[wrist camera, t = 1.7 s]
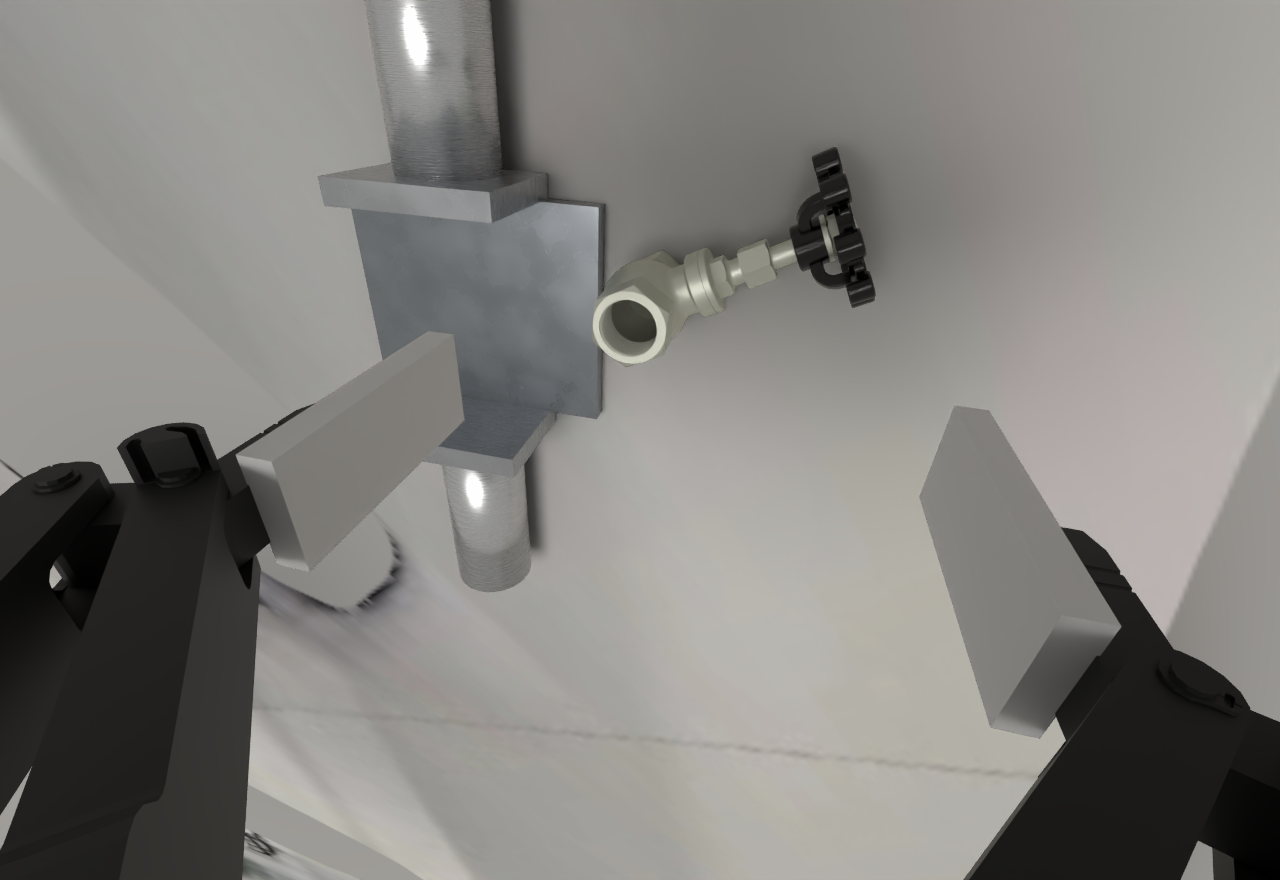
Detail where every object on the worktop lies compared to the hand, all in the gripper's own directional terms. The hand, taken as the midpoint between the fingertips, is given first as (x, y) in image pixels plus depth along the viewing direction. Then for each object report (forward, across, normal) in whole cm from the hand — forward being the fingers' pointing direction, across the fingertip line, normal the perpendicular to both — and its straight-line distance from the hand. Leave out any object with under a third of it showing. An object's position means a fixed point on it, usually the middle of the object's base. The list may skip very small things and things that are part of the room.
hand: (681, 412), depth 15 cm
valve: (+17, 0, 0) cm, 17 cm away
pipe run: (+16, -14, -4) cm, 22 cm away
